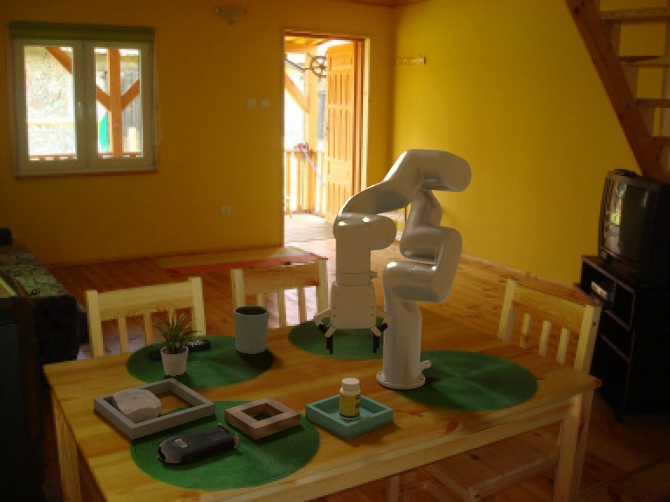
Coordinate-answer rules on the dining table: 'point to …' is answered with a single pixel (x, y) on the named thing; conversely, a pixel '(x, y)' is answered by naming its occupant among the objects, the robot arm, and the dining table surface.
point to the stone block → (137, 404)
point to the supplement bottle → (350, 399)
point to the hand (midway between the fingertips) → (352, 351)
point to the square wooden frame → (259, 429)
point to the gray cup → (251, 328)
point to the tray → (368, 420)
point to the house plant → (174, 346)
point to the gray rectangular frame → (161, 423)
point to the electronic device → (197, 445)
